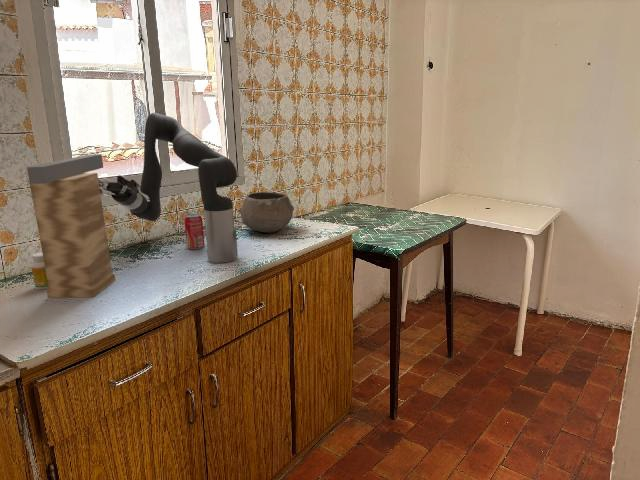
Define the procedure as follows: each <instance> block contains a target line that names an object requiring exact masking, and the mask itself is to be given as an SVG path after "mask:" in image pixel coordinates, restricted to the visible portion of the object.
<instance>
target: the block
mask: <svg viewBox="0 0 640 480" xmlns="http://www.w3.org/2000/svg"><path fill="white" fill-rule="evenodd" d="M100 169H104V162H103V155H102V153H100V154H97V153H96V154H84V155H79V156H74V157H70V158H65V159H59V160H55V161H51V162H46V163H41V164H37V165H32V166H31V165H30V166H27V167H26V171H27V176H28V177H27V178H28V181H29V182H30V183H29V182H28V183H29V185H30V184H46V183H50V182H53V181H57V180H60V179H64V178H68V177H71V176H75V175H78V174H82V173H90V172H92V171H96V170H100Z"/></svg>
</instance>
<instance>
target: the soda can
mask: <svg viewBox="0 0 640 480" xmlns="http://www.w3.org/2000/svg"><path fill="white" fill-rule="evenodd" d="M183 222H184V231H185V240H186V241H185V242H186V243H185V244H186V248H188V249H189V250H200V249H203V248H204V247H205V246H206V245H205V244H206V243H205V236H204V226H203V225H204V224H203V222H204V221H203V218H202V216H201V214H200V213H189V214H186V215H185V216H184V220H183Z"/></svg>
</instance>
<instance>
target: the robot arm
mask: <svg viewBox="0 0 640 480" xmlns="http://www.w3.org/2000/svg"><path fill="white" fill-rule="evenodd" d="M146 118H147V119H146V121H145V125H144V139H143V140H144V141H143V143H144V144H143V145H144V146H143V169H142V174H141V175H142V176H141V180H140V181H141V182H140V184H139V183H138V182H137V180H135V179H130V180H129V179H128V178H125V177H124V176H122V175H120V174H118V175H117V177H116V181H117V182H115V181H110V180H107V179H104V180H101V179H99V178H98V181H99V187H100V194H103V192H104V193H109V194H110V196H111V198H112V199H113V200H114V201H115V202H117V203H118V204H119V205H120V206H122V207H124V208H125V209H128V210H129V211H130V214H131V215H132V216H133V215H136V216H137V217H139V218H138V219H142V220H146V221H149V222H156V221H157V220H158V219H159V218H160V217H161V215H162V214H161V213H162V206H161V195H160V194H161V193H160V191H161V185H162V179H163V170H162V167H161V164H160V161H159V160H160V159H159V158H158V156H157V155H158V154H157V151H156V143H157V140H158V141H159V140H160V141H162V142H166V143H167V142H168V143H171V144H172V150H173V152H174V153H175V155H176V156H177V157H178V158H179V159H181V161H183V162H184V163H186V164H188V165H190V166H193V167H197V168H198V169H197V173H198V174H197V175H198V181H199V187H200V188H199V189H200V196H201V201H202V206H203V215H204V226H205V227H204V229H205V237H206V248H207V260H208V261H209V262H211V263H213V264H215V263H216V264H223V263H229V262H230V263H231V262H235V261H236V260H237V258H238V255H239V254H238V239H237V229H236V228H235V222H234V221H235V220H234V208H233V207H234V206H233V200H232V198H230V197H227V196H222V195H219V194H218V190H217V188H224V187H228V186H232V185H233V184H235V182H236V181H237V178H238V177H237V176H238V172H237V168H236V166H235V164H234V162H233V161H232V160H231V159H230V158H228V157H227V156H225V155H223V154H221V153H219V152H217V151H215V150H214V149H212V148H211V147H210V146H208V145H207V144H205V143H204V142H203V141H201V139H199V138H198V137H197V136H195V135H194V134H192V133H191V132H189V131H188V130H186V129H185V128H184V127H183V125H182V124H181V123H180V122H179V121H178V120H177V119H176V118H174V117H172V116H168V115H165V114H161V113H157V112H151V113H150V114H149V115H148V116H147V117H146ZM143 194H144V195H143ZM145 196H147V197H148V199H149V200H148V199H147V198H146V197H145ZM137 217H136V218H137Z"/></svg>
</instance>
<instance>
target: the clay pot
mask: <svg viewBox="0 0 640 480" xmlns="http://www.w3.org/2000/svg"><path fill="white" fill-rule="evenodd" d="M294 210H295V208H294V205H292V202H291V199H290V198H289V197H288V195H287V194H285V193H281V192H280V193H279V192H273V191H272V192H270V191H263V192H262V191H259V192H252V193H248V194H247V195H246V197H245V198H244V199H243V201H242V205H241V207H239V210H238V213H239V214H240V218H241V221H242V223H243V224H244V225H245V226H246V227H247V228H249V229H251V230H253V231H256V232H260V233H268V234H269V233H270V234H271V233H275V232H278V231H280V230H283V229H284V228H286V227H287V226H288V225H289V224H290V222H291V221H292V220H293V219H292V218H293V216H294V215H293V214H294Z"/></svg>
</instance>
